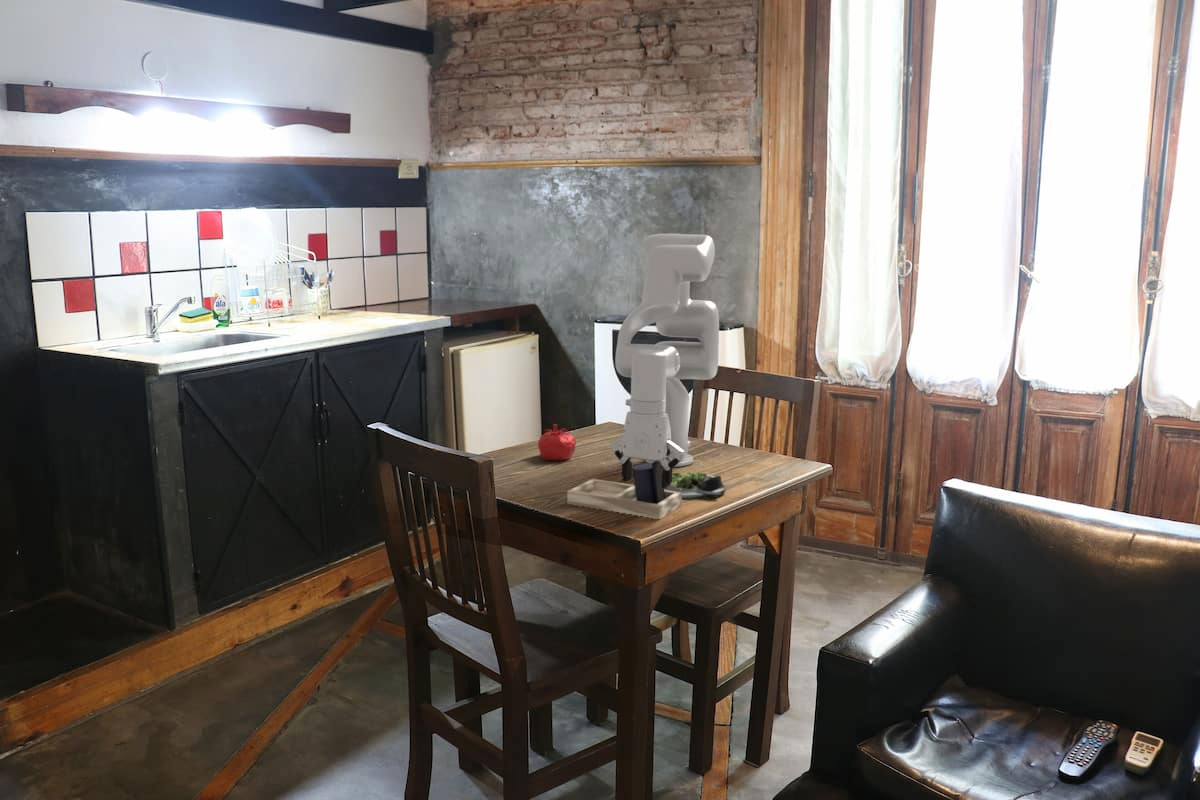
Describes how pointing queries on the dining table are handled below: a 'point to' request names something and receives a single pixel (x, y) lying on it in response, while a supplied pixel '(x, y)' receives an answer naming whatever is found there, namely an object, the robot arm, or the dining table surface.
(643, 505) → the sorting tray
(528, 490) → the dining table surface
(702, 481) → the avocado toast plate
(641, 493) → the speaker
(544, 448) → the pomegranate
